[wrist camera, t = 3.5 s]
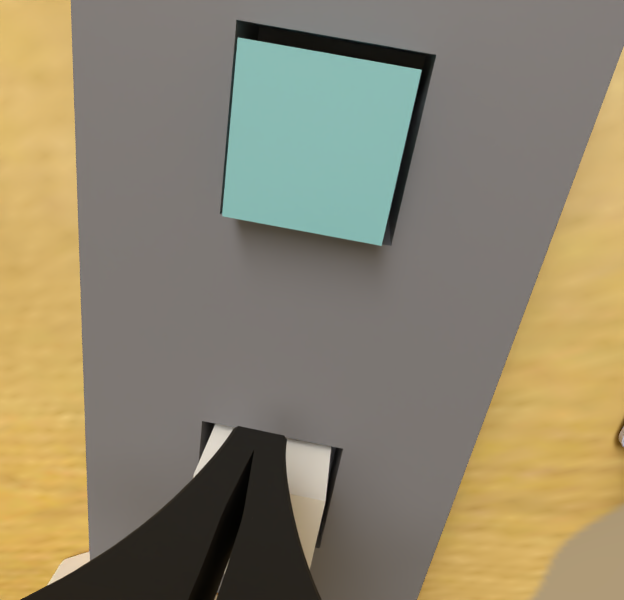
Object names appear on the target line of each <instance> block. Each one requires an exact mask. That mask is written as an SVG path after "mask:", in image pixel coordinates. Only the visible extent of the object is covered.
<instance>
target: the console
mask: <svg viewBox="0 0 624 600" xmlns="http://www.w3.org/2000/svg"><path fill="white" fill-rule="evenodd" d="M71 20H72V49H73V79H74V108H75V138H76V167H77V197H78V227H79V256H80V286H81V315H82V345H83V374H84V404H85V434H86V463H87V493H88V522H89V552H90V561H91V560H92V559H94V558H95V557H97V556H99V555H100V554H102V553H103V552H105V551H106V550H108V549H109V548H111V547H112V546H114V545H115V544H117V543H118V542H119V541H121V540H122V539H124V538H125V537H126V536H128V535H129V534H130V533H132V532H133V531H134V530H136V529H137V528H138V527H140V526H141V525H142V524H143V523H145V522H146V521H147V520H148V519H150V518H151V517H152V516H153V515H154V514H156V513H157V512H158V511H159V510H160V509H161V508H163V507H164V506H165V505H166V504H167V503H168V502H169V501H170V500H171V499H173V498H174V497H175V496H176V495H177V494H178V493H179V492H180V491H181V490H182V489H183V488H184V487H185V486H186V485H187V484H188V483H189V482H190V481H191V480H192V479H193V475H194V472H195V470H196V468H197V465H198V463H199V461H200V458H201V456H202V454H203V452H204V449H205V447H206V445H207V442H208V440H209V438H210V435H211V433H212V431H213V428H214V426H215V424H220V425H225V426H230V427H237V426H241V427H246V428H251V429H256V430H261V431H265V432H270V433H275V434H280V435H284V436H285V437H286V438H291V439H296V440H301V441H306V442H312V443H317V444H322V445H327V446H331V454H330V463H329V473H328V482H327V492H326V501H325V506H324V510H323V514H322V519H321V523H320V527H319V532H318V536H317V540H316V545H315V549H314V553H313V558H312V562H311V566H310V572H311V575H312V578H313V580H314V583H315V585H316V588H317V590H318V592H319V595H320V597H321V599H322V600H417V598H418V595H419V593H420V590H421V587H422V584H423V582H424V579H425V576H426V574H427V571H428V568H429V566H430V563H431V560H432V558H433V555H434V552H435V550H436V547H437V544H438V542H439V539H440V536H441V534H442V531H443V528H444V526H445V523H446V520H447V518H448V515H449V512H450V510H451V507H452V504H453V501H454V499H455V496H456V493H457V491H458V488H459V485H460V483H461V480H462V477H463V475H464V472H465V469H466V467H467V464H468V461H469V459H470V456H471V453H472V451H473V448H474V445H475V443H476V440H477V437H478V435H479V432H480V429H481V427H482V424H483V421H484V418H485V416H486V413H487V410H488V408H489V405H490V402H491V400H492V397H493V394H494V392H495V389H496V386H497V384H498V381H499V378H500V376H501V373H502V370H503V368H504V365H505V362H506V360H507V357H508V354H509V352H510V349H511V346H512V344H513V341H514V338H515V335H516V333H517V330H518V327H519V325H520V322H521V319H522V317H523V314H524V311H525V309H526V306H527V303H528V301H529V298H530V295H531V293H532V290H533V287H534V285H535V282H536V279H537V277H538V274H539V271H540V269H541V266H542V263H543V261H544V258H545V255H546V252H547V250H548V247H549V244H550V242H551V239H552V236H553V234H554V231H555V228H556V226H557V223H558V220H559V218H560V215H561V212H562V210H563V207H564V204H565V202H566V199H567V196H568V194H569V191H570V188H571V186H572V183H573V180H574V178H575V175H576V172H577V169H578V167H579V164H580V161H581V159H582V156H583V153H584V151H585V148H586V145H587V143H588V140H589V137H590V135H591V132H592V129H593V127H594V124H595V121H596V119H597V116H598V113H599V111H600V108H601V105H602V103H603V100H604V97H605V95H606V92H607V89H608V86H609V84H610V81H611V78H612V76H613V73H614V70H615V68H616V65H617V62H618V60H619V57H620V54H621V52H622V49H623V46H624V0H71ZM238 38H244V39H250V40H256V41H261V42H267V43H273V44H278V45H284V46H290V47H295V48H301V49H307V50H312V51H318V52H324V53H329V54H335V55H341V56H346V57H352V58H358V59H363V60H369V61H375V62H380V63H386V64H392V65H397V66H403V67H409V68H414V69H420V70H422V71H421V76H420V80H419V84H418V89H417V93H416V97H415V102H414V106H413V111H412V115H411V119H410V124H409V128H408V132H407V137H406V141H405V146H404V150H403V154H402V159H401V163H400V167H399V172H398V176H397V181H396V185H395V189H394V194H393V198H392V202H391V207H390V211H389V216H388V220H387V224H386V229H385V233H384V238H383V242H382V246H380V245H374V244H369V243H364V242H358V241H353V240H347V239H342V238H337V237H331V236H326V235H321V234H315V233H310V232H304V231H299V230H294V229H288V228H283V227H278V226H272V225H267V224H261V223H256V222H251V221H245V220H240V219H235V218H229V217H224V216H222V211H223V199H224V188H225V177H226V165H227V154H228V143H229V131H230V120H231V108H232V97H233V86H234V74H235V63H236V51H237V40H238ZM224 575H225V573H224ZM224 575H223V578H224ZM223 578H222V580H221V583H220V586H219V588H218V591H217V593H219V590H220V587H221V584H222V581H223Z"/></svg>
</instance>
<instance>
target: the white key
mask: <svg viewBox="0 0 624 600" xmlns="http://www.w3.org/2000/svg"><path fill="white" fill-rule="evenodd" d="M234 428H235V427H230V426H225V425H220V424H215V426H214V428H213V431H212V433H211V435H210V438H209V440H208V442H207V445H206V447H205V449H204V452H203V454H202V456H201V458H200V461H199V463H198V465H197V468H196V470H195V472H194V475H193V478H194V477H195V476H196V475H197V474H198V472H199V471H200V470H201V469H202V468H203V467H204V466H205V465H206V464H207V462H208V461H209V460H210V459H211V458H212V457H213V456H214V454H215V453H216V452H217V451H218V450H219V448H220V447H221V446H222V444H223V443H224V442H225V440H226V439H227V438H228V436H229V435H230V433H231V432H232V430H233V429H234ZM285 438H286V437H285ZM286 439H287V444H286V469H287V479H288V486H289V492H290V499H291V504H292V509H293V514H294V518H295V522H296V527H297V531H298V534H299V538H300V542H301V545H302V548H303V551H304V555H305V558H306V561H307V564H308V567H309V569H310V566H311V562H312V558H313V553H314V549H315V545H316V540H317V536H318V532H319V527H320V523H321V519H322V514H323V510H324V506H325V501H326V492H327V482H328V473H329V463H330V454H331V446H327V445H322V444H317V443H312V442H306V441H301V440H296V439H291V438H286ZM228 562H229V561H228ZM227 565H228V564H227ZM226 568H227V567H226ZM225 571H226V570H225ZM224 573H225V572H224Z"/></svg>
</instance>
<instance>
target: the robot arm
mask: <svg viewBox="0 0 624 600" xmlns="http://www.w3.org/2000/svg"><path fill="white" fill-rule="evenodd" d="M619 441H620V443H621V444H622V446H623V447H624V426H623V428H622V430H621V432H620V434H619ZM286 444H287V439H286V438H285V436H284V435H280V434H275V433H270V432H265V431H261V430H256V429H251V428H246V427H241V426H237V427H235V428H234V429H233V430H232V432H231V433H230V435H229V436H228V438H227V439H226V440H225V442H224V443H223V444H222V446H221V447H220V448H219V450H218V451H217V452H216V453H215V454H214V456H213V457H212V458H211V459H210V460H209V461H208V462H207V464H206V465H205V466H204V467H203V468H202V469H201V470H200V471H199V472H198V474H197V475H196V476H195V477H194V478H193V479H192V480H191V481H190V482H189V483H188V484H187V485H186V486H185V487H184V488H183V489H182V490H181V491H180V492H179V493H178V494H177V495H176V496H175V497H174V498H173V499H171V500H170V501H169V502H168V503H167V504H166V505H165V506H164V507H163V508H161V509H160V510H159V511H158V512H157V513H156V514H154V515H153V516H152V517H151V518H150V519H148V520H147V521H146V522H145V523H143V524H142V525H141V526H140V527H138V528H137V529H136V530H134V531H133V532H132V533H130V534H129V535H128V536H126V537H125V538H124V539H122V540H121V541H119V542H118V543H117V544H115V545H114V546H112V547H111V548H109V549H108V550H106V551H105V552H103V553H102V554H100V555H99V556H97V557H95V558H94V559H92V560H91V561H89V562H87V563H86V564H84V565H83V566H81V567H79V568H78V569H76V570H75V571H73V572H71V573H70V574H68V575H66V576H64V577H63V578H61V579H59V580H57V581H55V582H53V583H51V584H49V585H47V586H46V587H44V588H42V589H40V590H38V591H36V592H34V593H32V594H30V595H29V596H27V597H25V598H23V599H21V600H214V599H215V597H216V594H217V591H218V588H219V586H220V583H221V580H222V578H223V575H224V572H225V575H224V578H223V581H222V584H221V587H220V590H219V593H218V596H217V599H216V600H322V599H321V597H320V595H319V592H318V590H317V588H316V585H315V583H314V580H313V578H312V575H311V572H310V569H309V567H308V564H307V561H306V558H305V555H304V551H303V548H302V545H301V542H300V538H299V534H298V531H297V527H296V522H295V518H294V514H293V509H292V504H291V499H290V492H289V486H288V479H287V469H286ZM228 561H229V562H228ZM227 564H228V565H227ZM226 567H227V568H226ZM225 570H226V571H225Z"/></svg>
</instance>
